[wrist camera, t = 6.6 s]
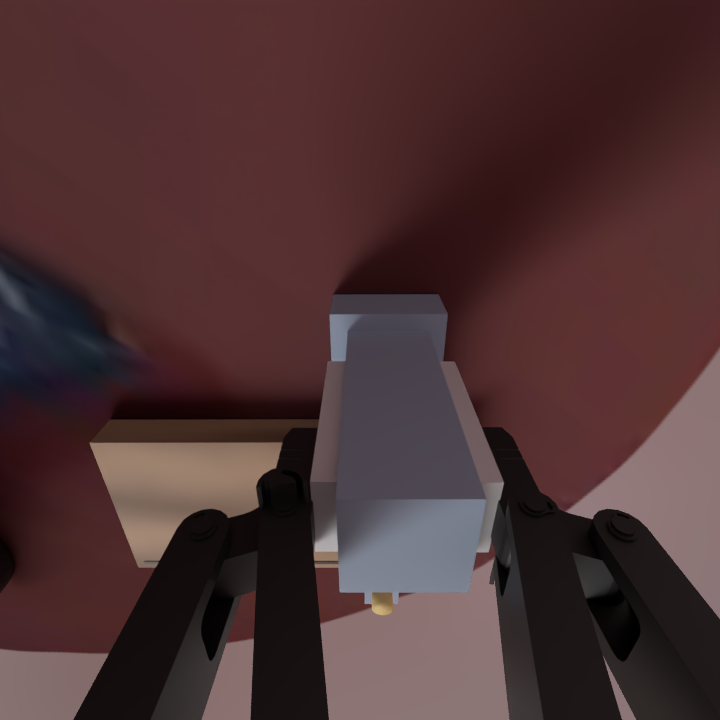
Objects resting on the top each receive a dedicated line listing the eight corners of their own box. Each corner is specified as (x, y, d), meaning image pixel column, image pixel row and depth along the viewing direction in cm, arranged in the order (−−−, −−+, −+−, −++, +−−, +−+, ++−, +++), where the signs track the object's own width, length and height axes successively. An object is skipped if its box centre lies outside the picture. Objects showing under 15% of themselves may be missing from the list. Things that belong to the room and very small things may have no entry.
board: (109, 419, 24) (89, 443, 22) (467, 419, 23) (476, 442, 22) (152, 540, 28) (138, 568, 26) (450, 540, 28) (456, 568, 26)
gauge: (333, 294, 20) (301, 475, 9) (438, 294, 20) (524, 474, 9) (342, 550, 29) (331, 793, 18) (415, 550, 29) (447, 794, 18)
